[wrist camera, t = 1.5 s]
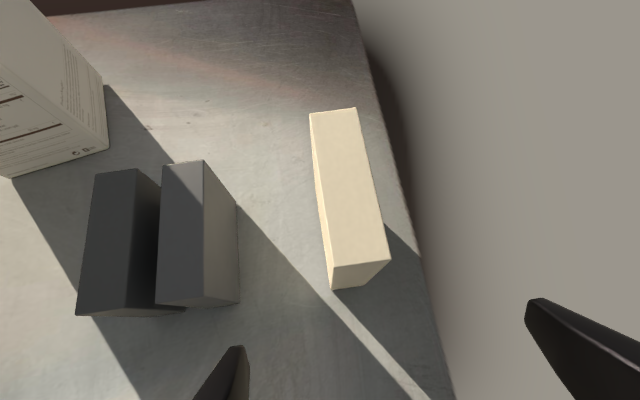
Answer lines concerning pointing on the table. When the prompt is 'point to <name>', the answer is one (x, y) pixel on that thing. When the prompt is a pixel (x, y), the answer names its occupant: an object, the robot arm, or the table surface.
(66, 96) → the white product box
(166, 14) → the table surface
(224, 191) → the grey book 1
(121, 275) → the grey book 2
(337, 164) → the small cream white box
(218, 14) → the table surface
